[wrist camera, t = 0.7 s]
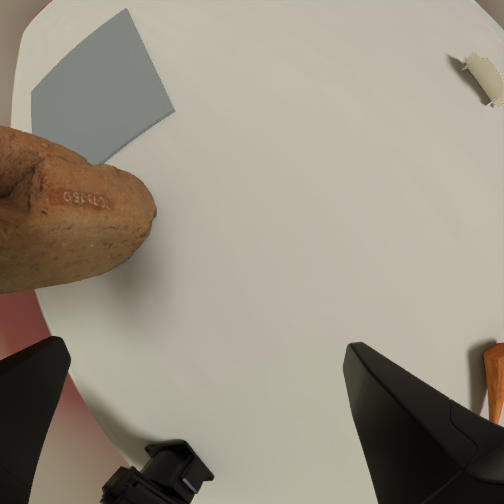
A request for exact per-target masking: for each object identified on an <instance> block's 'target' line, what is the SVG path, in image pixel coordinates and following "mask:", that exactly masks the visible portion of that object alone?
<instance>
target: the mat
mask: <svg viewBox="0 0 504 504" xmlns="http://www.w3.org/2000/svg"><path fill="white" fill-rule="evenodd" d="M173 112H175V110H174V108H173V106H172V103H171V101H170V99H169V97H168V95H167V93H166V91H165V89H164V87H163V85H162V82H161V80H160V78H159V76H158V74H157V72H156V70H155V68H154V66H153V63H152V61H151V59H150V57H149V55H148V53H147V51H146V49H145V46H144V44H143V42H142V40H141V38H140V36H139V34H138V32H137V29H136V27H135V25H134V23H133V21H132V19H131V16H130V14H129V12H128V10H127V9H126V8H125V9H124V10H122V11H121V12H120V13H118V14H117V15H115V16H114V17H112V18H111V19H110V20H108V21H107V22H106V23H104V24H103V25H102V26H100V27H99V28H98V29H96V30H95V31H94V32H93V33H91V34H90V35H89V36H88V37H87V38H85V39H84V40H83V41H82V42H81V43H79V44H78V45H77V46H76V47H75V48H74V49H73V50H72V51H70V52H69V53H68V54H67V55H66V56H65V57H64V58H63V59H62V60H61V61H60V62H59V63H58V64H57V65H56V66H55V67H54V68H53V69H52V70H51V71H50V72H49V73H48V74H47V75H46V76H45V77H44V78H43V79H42V80H41V82H40V83H39V84H38V85H37V86H36V87H35V88H34V89H33V91H32V92H31V118H32V134H34V135H37V136H40V137H43V138H45V139H47V140H49V141H51V142H54V143H57V144H60V145H62V146H64V147H66V148H68V149H70V150H72V151H75V152H77V153H78V154H79V155H81V156H83V157H84V158H86V159H87V162H89V163H90V164H92V165H97V164H103V163H104V162H105V161H107V160H108V159H109V158H110V157H112V156H113V155H114V154H115V153H117V152H118V151H119V150H120V149H122V148H123V147H124V146H126V145H127V144H128V143H130V142H131V141H132V140H134V139H135V138H136V137H138V136H139V135H140V134H142V133H143V132H145V131H146V130H148V129H149V128H150V127H152V126H153V125H155V124H156V123H158V122H159V121H161V120H162V119H164V118H165V117H167V116H168V115H170V114H171V113H173Z"/></svg>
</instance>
